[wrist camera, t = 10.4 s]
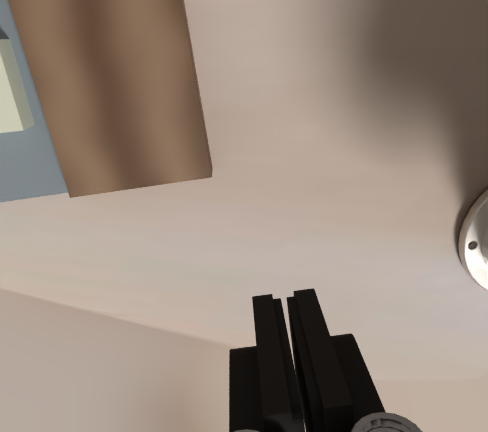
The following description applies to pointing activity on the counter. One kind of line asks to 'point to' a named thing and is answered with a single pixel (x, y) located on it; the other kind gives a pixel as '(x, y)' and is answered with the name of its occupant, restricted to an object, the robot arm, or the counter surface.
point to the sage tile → (12, 93)
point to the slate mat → (27, 136)
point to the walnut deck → (116, 91)
